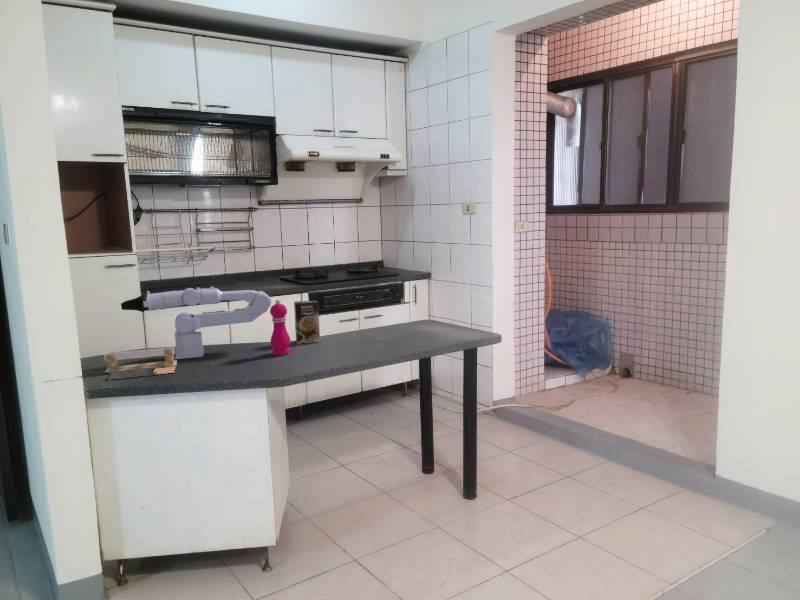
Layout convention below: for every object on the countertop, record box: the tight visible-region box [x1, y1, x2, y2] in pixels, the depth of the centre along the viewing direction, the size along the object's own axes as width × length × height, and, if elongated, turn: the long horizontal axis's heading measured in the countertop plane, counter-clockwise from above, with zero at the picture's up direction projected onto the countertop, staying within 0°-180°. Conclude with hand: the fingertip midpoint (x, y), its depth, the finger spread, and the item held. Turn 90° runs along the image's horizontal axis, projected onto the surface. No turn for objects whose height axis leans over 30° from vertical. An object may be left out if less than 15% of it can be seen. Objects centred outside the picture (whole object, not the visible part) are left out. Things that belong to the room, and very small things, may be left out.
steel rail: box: [103, 346, 176, 362], centre depth 199 cm, size 22×2×2 cm, turn 107°
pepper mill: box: [269, 299, 292, 356], centre depth 213 cm, size 7×7×20 cm
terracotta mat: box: [154, 367, 176, 375], centre depth 193 cm, size 20×8×1 cm, turn 107°
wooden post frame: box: [104, 346, 178, 373], centre depth 200 cm, size 22×6×6 cm, turn 107°
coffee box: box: [293, 300, 321, 345], centre depth 231 cm, size 9×6×16 cm
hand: (122, 305), depth 206 cm, fingers open, 7 cm apart
